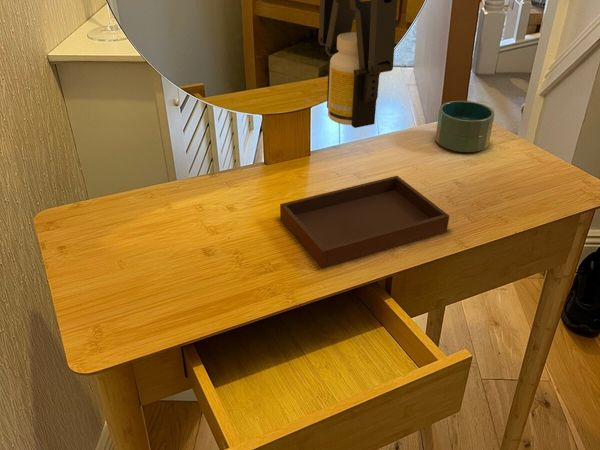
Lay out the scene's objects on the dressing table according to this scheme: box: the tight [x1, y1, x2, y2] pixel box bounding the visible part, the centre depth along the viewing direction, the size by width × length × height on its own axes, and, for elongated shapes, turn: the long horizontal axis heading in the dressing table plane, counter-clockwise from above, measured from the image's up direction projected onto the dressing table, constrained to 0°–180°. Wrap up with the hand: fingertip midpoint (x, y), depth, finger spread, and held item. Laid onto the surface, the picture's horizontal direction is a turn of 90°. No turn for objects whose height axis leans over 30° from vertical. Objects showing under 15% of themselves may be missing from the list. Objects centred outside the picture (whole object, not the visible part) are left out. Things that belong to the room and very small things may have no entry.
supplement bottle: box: [327, 31, 359, 126], centre depth 74 cm, size 5×5×10 cm
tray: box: [279, 175, 450, 269], centre depth 85 cm, size 19×13×3 cm, turn 116°
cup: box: [435, 100, 495, 153], centre depth 107 cm, size 9×9×6 cm
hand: (350, 115), depth 76 cm, fingers closed on supplement bottle, 5 cm apart
